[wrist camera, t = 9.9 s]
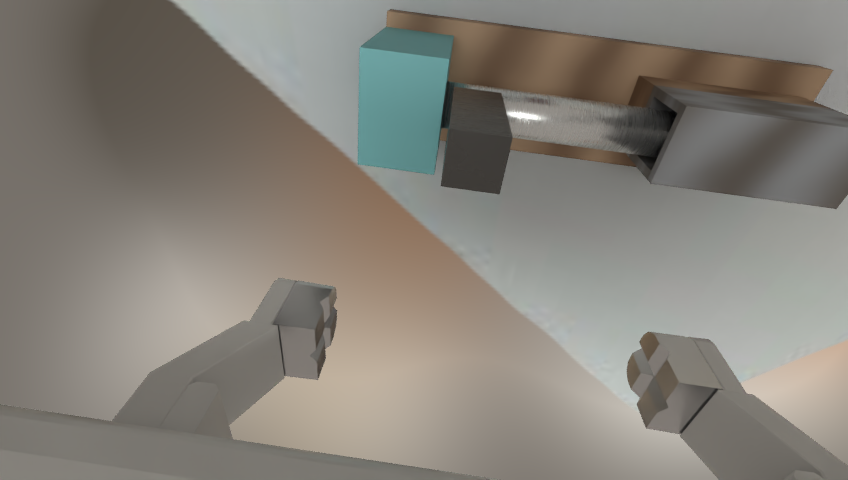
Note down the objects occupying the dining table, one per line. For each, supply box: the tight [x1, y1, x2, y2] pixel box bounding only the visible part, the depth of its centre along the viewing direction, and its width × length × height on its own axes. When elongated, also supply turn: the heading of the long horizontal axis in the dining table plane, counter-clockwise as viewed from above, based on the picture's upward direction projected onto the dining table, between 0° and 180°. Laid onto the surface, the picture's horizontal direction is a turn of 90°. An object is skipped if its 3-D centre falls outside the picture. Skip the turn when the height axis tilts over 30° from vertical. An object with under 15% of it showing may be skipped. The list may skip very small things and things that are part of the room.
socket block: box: [358, 27, 454, 175], centre depth 28 cm, size 5×7×9 cm
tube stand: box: [386, 9, 848, 209], centre depth 29 cm, size 32×9×10 cm, turn 84°
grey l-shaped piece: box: [441, 81, 678, 194], centre depth 24 cm, size 18×3×10 cm, turn 84°
